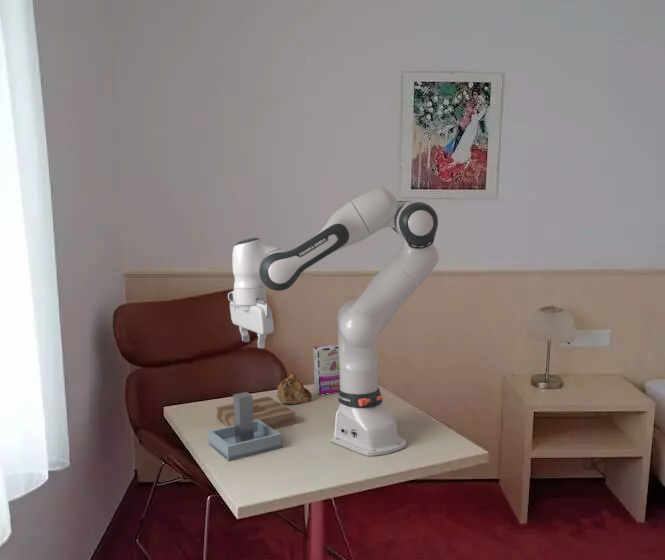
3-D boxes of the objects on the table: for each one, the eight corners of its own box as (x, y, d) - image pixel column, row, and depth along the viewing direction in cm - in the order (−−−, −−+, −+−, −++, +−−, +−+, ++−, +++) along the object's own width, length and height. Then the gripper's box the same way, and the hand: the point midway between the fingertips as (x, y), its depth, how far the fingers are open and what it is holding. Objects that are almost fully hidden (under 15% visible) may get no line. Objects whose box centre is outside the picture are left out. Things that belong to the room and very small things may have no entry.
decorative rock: (282, 408, 227) (280, 376, 226) (273, 403, 232) (272, 372, 231) (314, 402, 233) (313, 371, 232) (305, 397, 238) (304, 366, 237)
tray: (281, 447, 195) (281, 434, 194) (228, 461, 187) (227, 446, 186) (259, 432, 207) (259, 419, 206) (208, 444, 198) (208, 431, 198)
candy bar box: (342, 387, 249) (341, 342, 246) (348, 391, 244) (347, 345, 242) (313, 391, 244) (312, 346, 242) (319, 395, 240) (318, 349, 237)
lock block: (295, 424, 213) (294, 411, 212) (240, 436, 204) (240, 423, 203) (268, 408, 228) (268, 396, 228) (217, 419, 219) (216, 407, 218)
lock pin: (254, 443, 196) (252, 395, 194) (241, 446, 194) (239, 398, 192) (248, 439, 199) (246, 391, 197) (235, 442, 197) (233, 394, 195)
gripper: (277, 299, 188) (280, 349, 190) (244, 290, 205) (247, 336, 207) (256, 303, 185) (260, 353, 187) (225, 293, 202) (228, 340, 204)
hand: (253, 344), depth 197 cm, fingers open, 8 cm apart
